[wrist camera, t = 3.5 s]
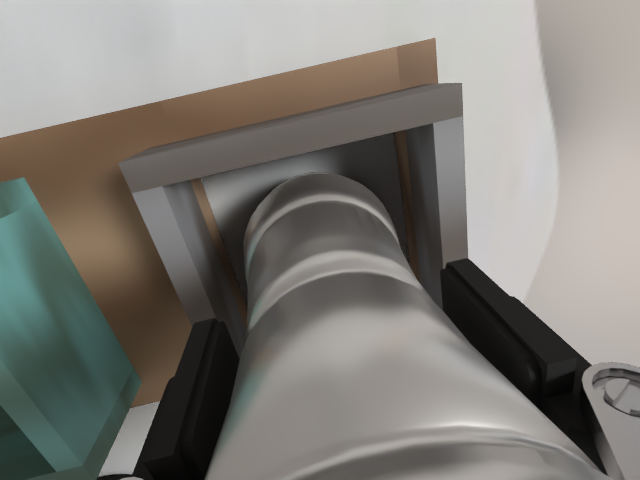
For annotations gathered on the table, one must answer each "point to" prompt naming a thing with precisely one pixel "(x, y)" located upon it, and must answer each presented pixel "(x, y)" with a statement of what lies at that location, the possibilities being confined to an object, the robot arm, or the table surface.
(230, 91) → the sorting tray
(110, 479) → the webcam
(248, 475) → the metal bottle
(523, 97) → the table surface
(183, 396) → the robot arm
